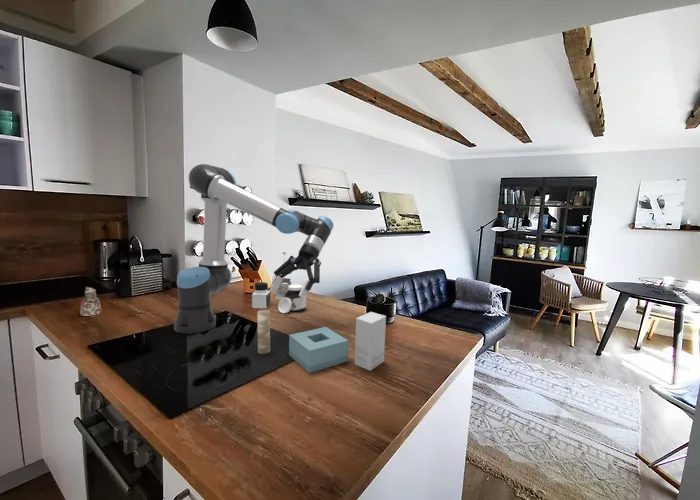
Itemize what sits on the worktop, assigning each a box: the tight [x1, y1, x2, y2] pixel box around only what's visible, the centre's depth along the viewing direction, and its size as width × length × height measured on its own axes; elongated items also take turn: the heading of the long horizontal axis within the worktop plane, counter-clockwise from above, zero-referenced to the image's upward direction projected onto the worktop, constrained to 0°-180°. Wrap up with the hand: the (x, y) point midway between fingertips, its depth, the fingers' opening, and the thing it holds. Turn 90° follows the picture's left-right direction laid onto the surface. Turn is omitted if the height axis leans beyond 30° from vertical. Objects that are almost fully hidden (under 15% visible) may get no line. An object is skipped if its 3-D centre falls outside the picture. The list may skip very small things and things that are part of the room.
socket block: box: [288, 326, 349, 374], centre depth 103 cm, size 14×14×7 cm
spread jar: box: [277, 284, 307, 314], centre depth 151 cm, size 12×11×12 cm
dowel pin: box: [256, 309, 271, 355], centre depth 107 cm, size 4×4×14 cm
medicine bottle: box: [251, 281, 271, 310], centre depth 156 cm, size 7×7×12 cm
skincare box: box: [354, 311, 387, 371], centre depth 100 cm, size 8×7×16 cm
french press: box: [271, 251, 293, 300], centre depth 174 cm, size 10×12×25 cm
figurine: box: [80, 286, 102, 316], centre depth 138 cm, size 7×7×12 cm
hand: (286, 294), depth 115 cm, fingers open, 13 cm apart
